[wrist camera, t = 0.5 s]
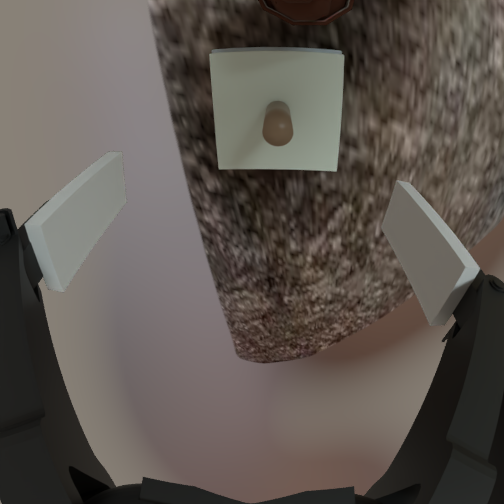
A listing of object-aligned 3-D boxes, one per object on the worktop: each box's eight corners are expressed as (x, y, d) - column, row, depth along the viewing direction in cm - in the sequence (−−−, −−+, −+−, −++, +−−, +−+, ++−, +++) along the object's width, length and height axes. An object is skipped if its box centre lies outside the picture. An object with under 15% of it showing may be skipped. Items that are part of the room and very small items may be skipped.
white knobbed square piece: (337, 53, 32) (364, 59, 22) (332, 160, 42) (349, 205, 32) (215, 52, 33) (189, 57, 23) (223, 158, 43) (204, 202, 33)
